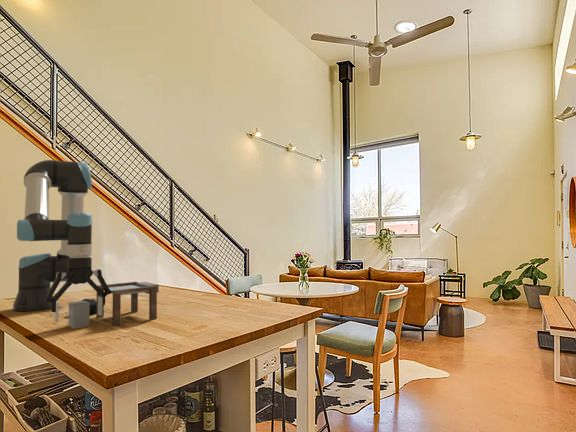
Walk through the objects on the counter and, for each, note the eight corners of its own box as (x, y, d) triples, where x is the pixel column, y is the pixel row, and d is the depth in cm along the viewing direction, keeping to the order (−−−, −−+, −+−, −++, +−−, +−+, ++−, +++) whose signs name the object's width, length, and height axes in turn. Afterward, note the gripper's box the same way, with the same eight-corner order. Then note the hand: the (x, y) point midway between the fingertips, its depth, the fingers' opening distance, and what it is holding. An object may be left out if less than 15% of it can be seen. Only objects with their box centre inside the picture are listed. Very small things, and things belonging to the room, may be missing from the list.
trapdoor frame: (96, 317, 143) (96, 285, 144) (135, 311, 154) (135, 281, 154) (114, 326, 129) (114, 291, 129) (156, 318, 139) (156, 286, 139)
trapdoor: (104, 293, 143) (104, 285, 143) (144, 288, 154) (144, 281, 154) (118, 298, 132) (118, 289, 132) (160, 292, 143) (160, 284, 143)
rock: (80, 311, 155) (80, 297, 155) (103, 309, 158) (103, 295, 158) (73, 317, 145) (73, 302, 145) (98, 315, 148) (98, 300, 148)
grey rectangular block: (68, 325, 131) (68, 302, 131) (84, 323, 134) (84, 300, 134) (73, 328, 126) (73, 304, 127) (89, 326, 130) (89, 302, 130)
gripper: (39, 259, 120) (38, 326, 119) (120, 255, 137) (120, 314, 136) (35, 258, 125) (34, 322, 124) (113, 254, 142) (113, 311, 141)
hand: (79, 318), depth 130 cm, fingers open, 13 cm apart
